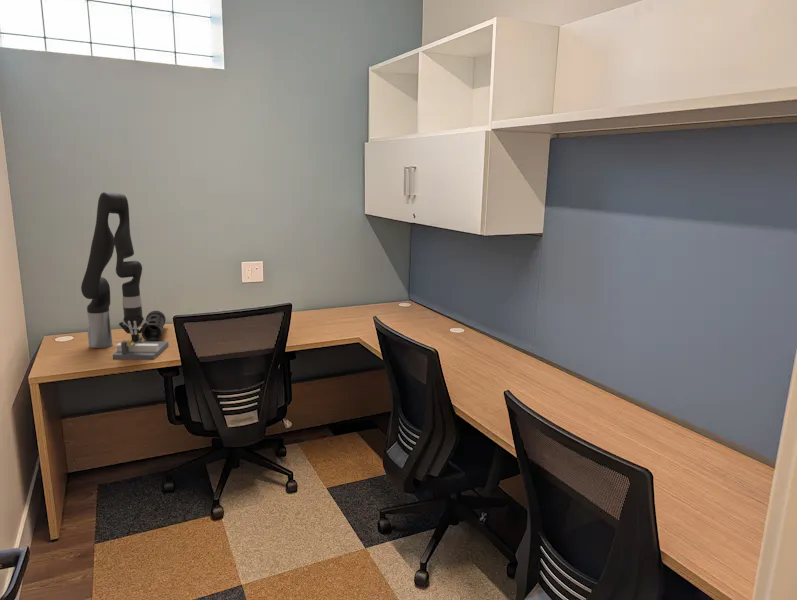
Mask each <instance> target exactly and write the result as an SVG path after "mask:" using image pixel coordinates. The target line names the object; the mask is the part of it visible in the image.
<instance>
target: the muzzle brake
mask: <svg viewBox="0 0 797 600" xmlns="http://www.w3.org/2000/svg"><path fill="white" fill-rule="evenodd" d="M145 321H146V322H149V324H148V325H147V327H146V328H145V329H144V331H143V332H142V339H144V340H145V341H158V340H160V339H161V337H162V334H163V330H164V327H165V323H166V316H165V314H164V313H163V312H162V311H160V310H153V311H150V312H148V314H147V315H146V317H145Z"/></svg>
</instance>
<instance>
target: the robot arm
mask: <svg viewBox="0 0 797 600" xmlns="http://www.w3.org/2000/svg"><path fill="white" fill-rule="evenodd" d="M96 209H97V210H96V220H95V227H94V231H93V237H92V241H91V246H90V251H89V257H88V261H87V267H86V270H85V273H84V275H83V279H82V282H81V287H80V289H81V293H82V294H81V295H83V297H84V298H85V299H88V300H91V301H90V302H89V304H87V306H86V310H87V320H88V327H87V328H86V330H87V340H88V347H89V348H93V349H105V348H109V347H111V346H112V345H113V335H112V326H111V325H112V323H111V317H110V316H111V313H110V305H111V287H110V284H109V282H108V280H107V279H106V278H105V277H103V276H102V274H103V273H104V270H105V268H106V267H107V266H108V264H109V262H110V260H111V259H112V258H113V254H114V249H115V252H116V266H115V274H116V275H117V277H119V278H121V279H122V278H123V279H124V278H125V279H126V278H131V280H129V281H126V282H123V284H122V285H121V291H122V309H123V320H122V321H120V322H119V323H118V325H119V326H120V327H121V328H122V329H123V331H125V333H126V334H128V335H129V334H130V335H131V337H132V341H133V342H138V341H139V333H142V332H143V331H144V329H145V328H146V327H147V325H148V324H149V322H146V319H144V317H143V304H142V298H141V291H140V283H141V278H142V273H143V265H142V263H141V262H140V261H138V260H129V261H124V260H125V259H128V258H130V257H133V256H134V254H135V251H134V246H133V241H132V236H131V227H130V225H131V223H130V207H129V201H128V198H127V196H126V195H125V194H124V193H118V192H111V191H102V192H101V193H100V195H99V197H98V201H97V208H96ZM110 214H115V215H118V218H119V224H118V226H117V228H116V231H115V233H114V234H113V232H112V231H111V228H110V226H109V216H110ZM141 324H142V326H141ZM140 326H141V328H140ZM131 337H130V338H131Z"/></svg>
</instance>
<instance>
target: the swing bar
mask: <svg viewBox="0 0 797 600" xmlns="http://www.w3.org/2000/svg"><path fill="white" fill-rule="evenodd" d="M141 339H142V340H143V337H142V333H139V340H141ZM125 341H126V346H132V345H134V344H135V343H136V342H133V341H132V337H130V338H129V339H127V340H125Z"/></svg>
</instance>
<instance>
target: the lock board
mask: <svg viewBox="0 0 797 600" xmlns="http://www.w3.org/2000/svg"><path fill="white" fill-rule="evenodd" d="M126 341H127V340H123V341H122V342H121V343H120V342H118V343H117V344H116V345H115V348H116V352H115V353H113V354H112V359H113V360H155V359H156V358H157V357H158V356H159V355H160V354H161V353H162V352H164V350H165V349H166V348H168V345H169V341H158V340H157V341H146V340H145V341H144V340H143V338H142V339H141V340H139V341H138V342H136V343H135V344H134V345H132V346H126ZM169 346H170V345H169Z"/></svg>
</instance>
